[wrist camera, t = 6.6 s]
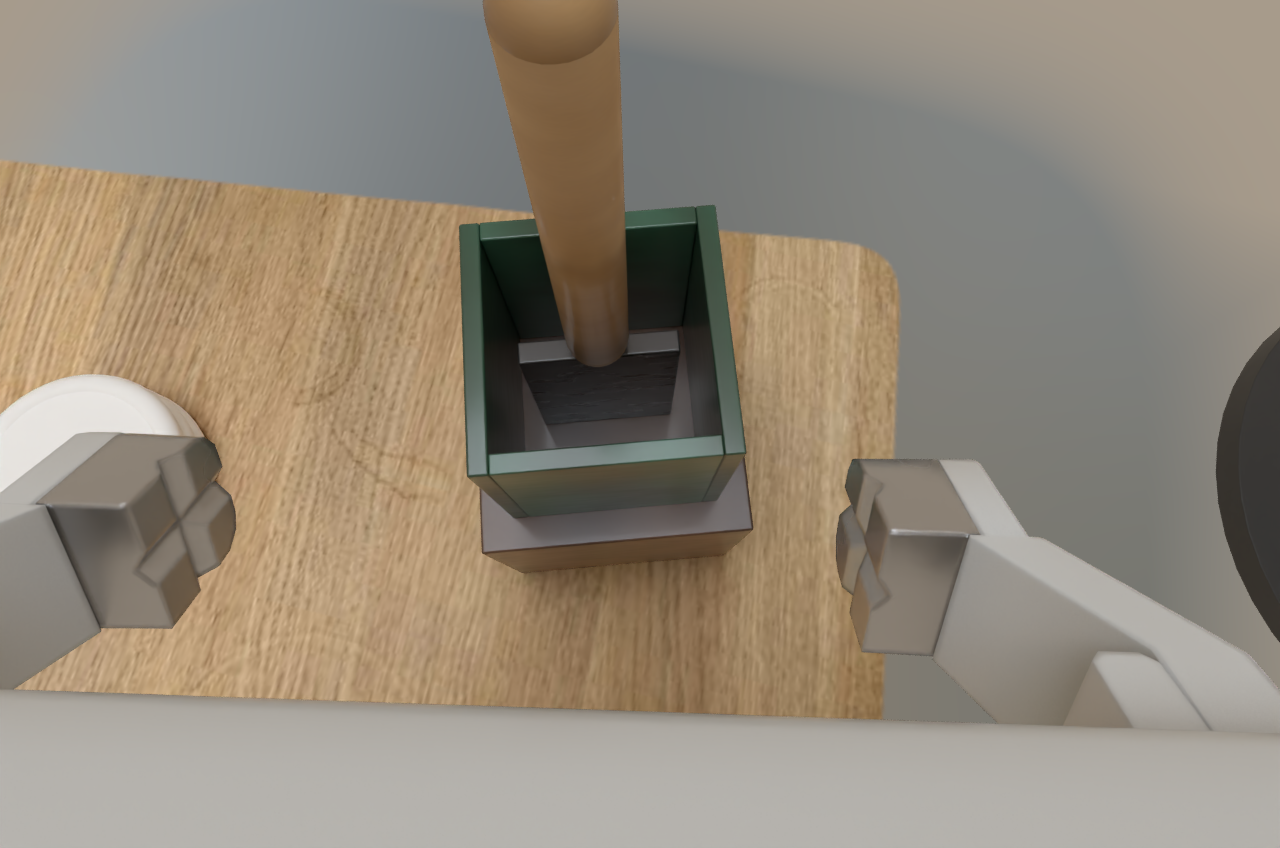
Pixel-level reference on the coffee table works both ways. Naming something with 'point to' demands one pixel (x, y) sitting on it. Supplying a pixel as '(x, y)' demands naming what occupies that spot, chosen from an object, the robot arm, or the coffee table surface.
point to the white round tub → (82, 418)
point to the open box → (613, 448)
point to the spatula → (578, 208)
